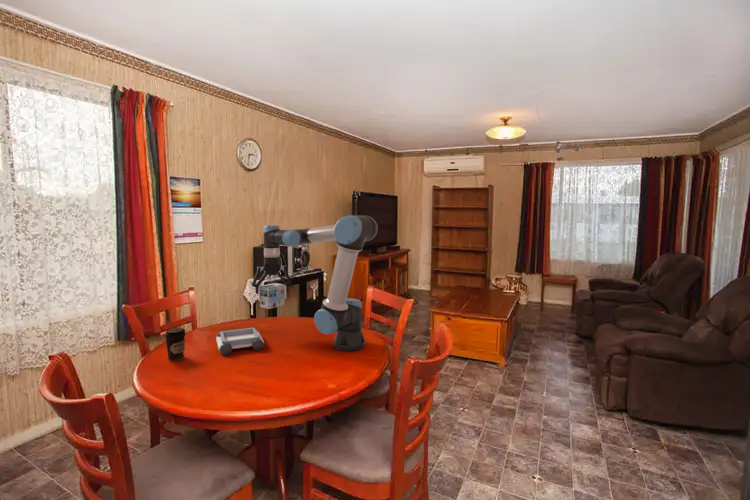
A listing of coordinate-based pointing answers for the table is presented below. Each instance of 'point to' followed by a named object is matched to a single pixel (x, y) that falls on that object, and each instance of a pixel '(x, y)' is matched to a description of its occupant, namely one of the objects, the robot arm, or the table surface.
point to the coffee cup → (175, 343)
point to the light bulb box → (271, 295)
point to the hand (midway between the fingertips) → (272, 299)
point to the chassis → (239, 340)
